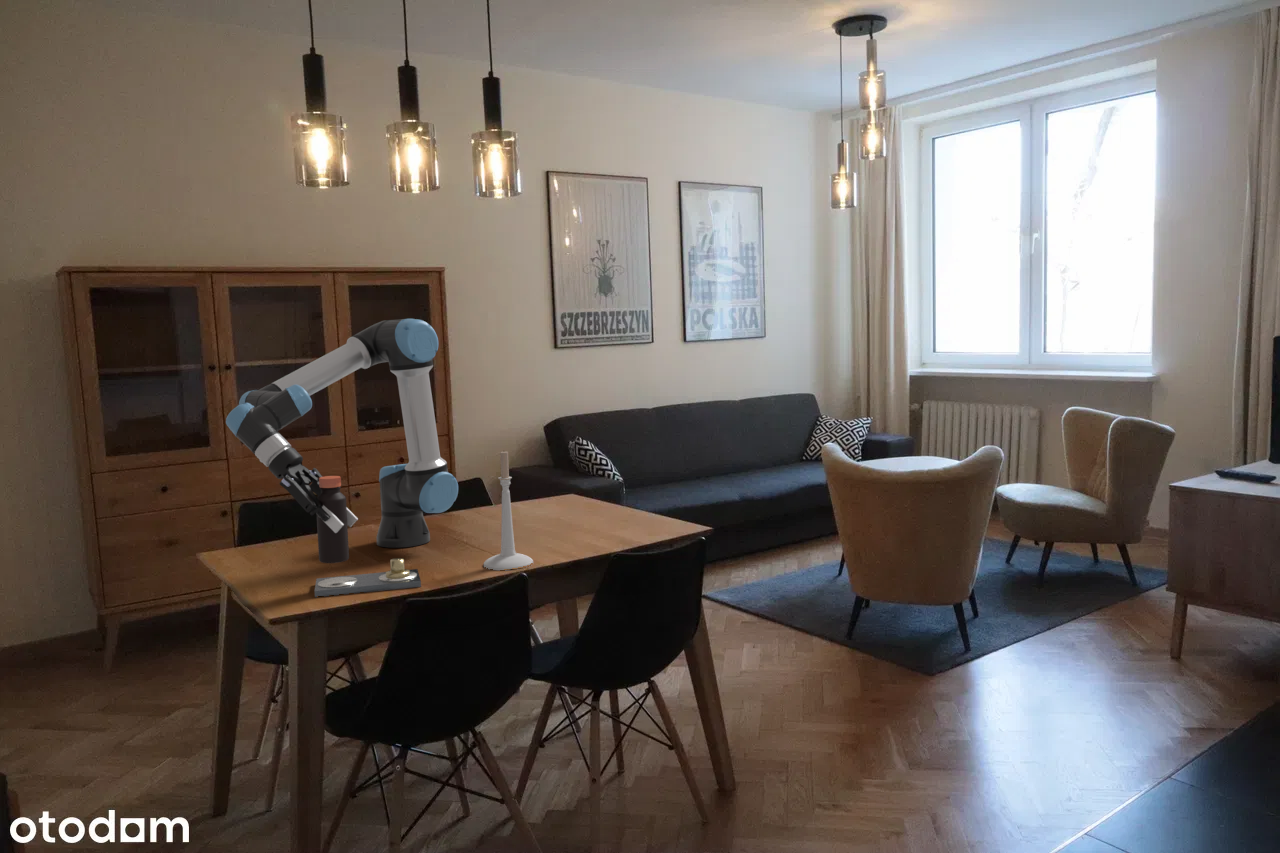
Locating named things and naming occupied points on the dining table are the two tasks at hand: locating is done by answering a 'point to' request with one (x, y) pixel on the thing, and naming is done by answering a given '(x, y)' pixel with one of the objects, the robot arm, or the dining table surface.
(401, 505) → the robot arm
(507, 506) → the candlestick
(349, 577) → the plate
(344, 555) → the vinegar
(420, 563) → the dining table surface
